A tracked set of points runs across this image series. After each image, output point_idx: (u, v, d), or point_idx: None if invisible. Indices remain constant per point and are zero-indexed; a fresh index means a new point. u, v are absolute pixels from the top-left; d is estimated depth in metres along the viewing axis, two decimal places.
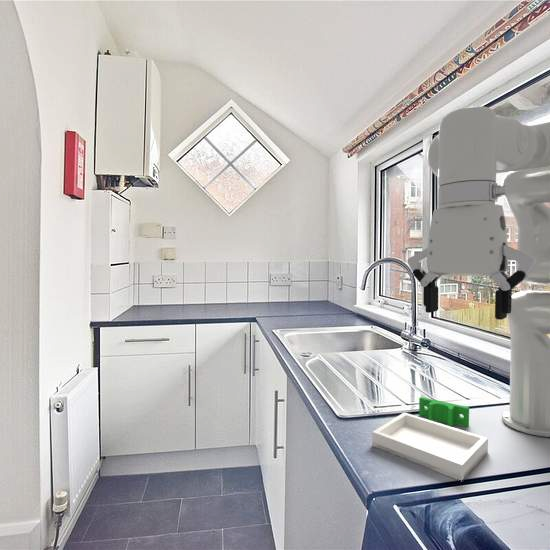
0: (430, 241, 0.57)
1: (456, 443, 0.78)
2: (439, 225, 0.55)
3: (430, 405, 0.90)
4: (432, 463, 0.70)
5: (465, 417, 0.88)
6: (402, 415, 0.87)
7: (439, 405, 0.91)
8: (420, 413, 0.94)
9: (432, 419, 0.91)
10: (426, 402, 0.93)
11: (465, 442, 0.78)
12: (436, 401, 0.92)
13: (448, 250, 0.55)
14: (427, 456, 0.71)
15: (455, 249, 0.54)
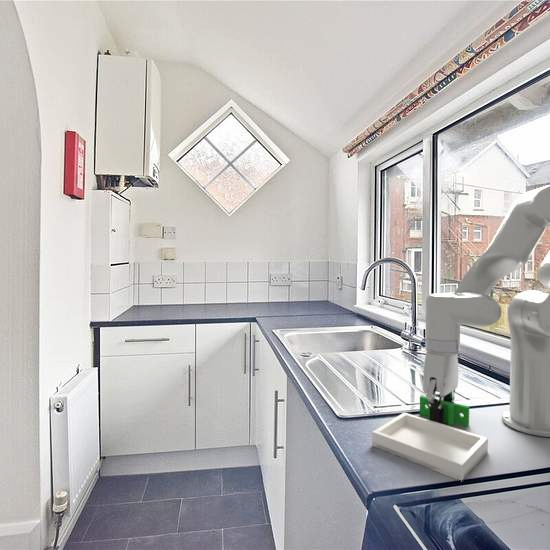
0: (443, 376, 0.86)
1: (456, 443, 0.78)
2: (447, 365, 0.86)
3: None
4: (432, 463, 0.70)
5: (465, 416, 0.88)
6: (402, 415, 0.87)
7: None
8: (420, 412, 0.95)
9: None
10: (426, 401, 0.94)
11: (465, 442, 0.78)
12: None
13: (449, 380, 0.87)
14: (427, 456, 0.71)
15: (451, 378, 0.88)
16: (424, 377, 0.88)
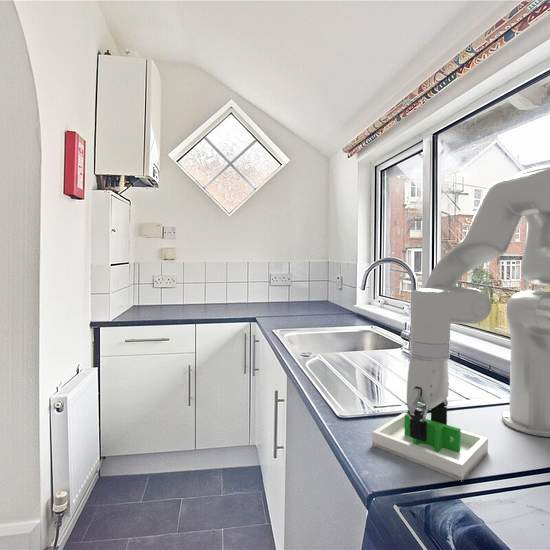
0: (430, 386, 0.73)
1: None
2: (434, 373, 0.73)
3: None
4: (432, 463, 0.70)
5: (455, 440, 0.75)
6: (402, 415, 0.87)
7: None
8: (405, 432, 0.82)
9: (417, 440, 0.78)
10: None
11: (465, 442, 0.78)
12: None
13: (437, 390, 0.74)
14: (427, 456, 0.71)
15: (440, 388, 0.75)
16: (408, 386, 0.75)
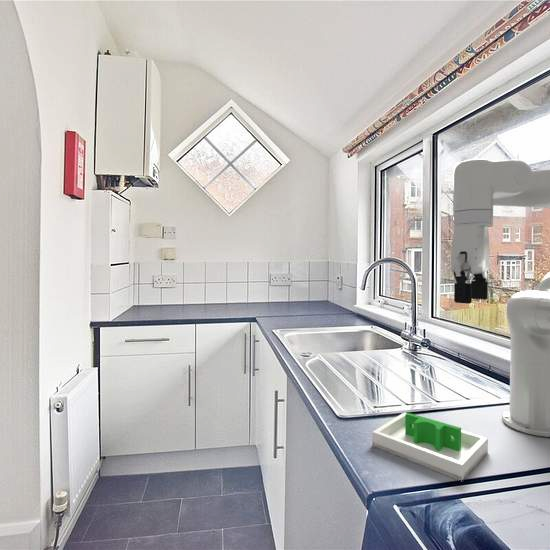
0: (475, 249, 0.75)
1: None
2: (479, 238, 0.76)
3: (415, 423, 0.78)
4: (432, 463, 0.70)
5: (456, 439, 0.75)
6: (402, 415, 0.87)
7: (426, 424, 0.78)
8: (406, 431, 0.82)
9: (418, 439, 0.78)
10: (412, 420, 0.81)
11: (465, 442, 0.78)
12: (424, 419, 0.80)
13: (481, 256, 0.77)
14: (427, 456, 0.71)
15: (483, 255, 0.78)
16: (452, 254, 0.78)
